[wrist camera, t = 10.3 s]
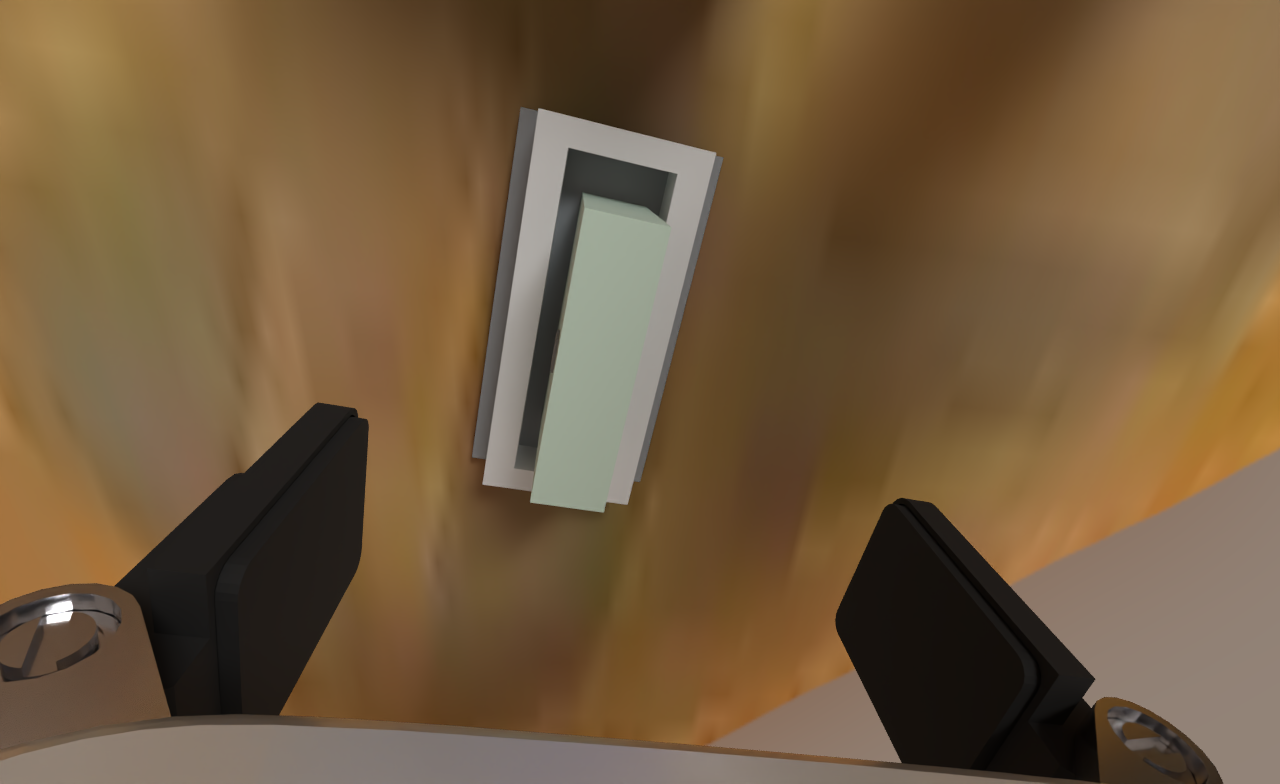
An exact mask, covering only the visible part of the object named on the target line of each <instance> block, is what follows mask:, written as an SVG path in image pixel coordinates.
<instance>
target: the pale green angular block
mask: <svg viewBox="0 0 1280 784" xmlns="http://www.w3.org/2000/svg"><path fill="white" fill-rule="evenodd" d="M671 228H672V227H671V226H669V225H668V224H667V223H666V222H664V221H663V220H662V219H661V218H659V217H658V216H657V215H656V214H654V213H653V212H652V211H651V210H649V209H648V208H647V207H645V206H640V205H636V204H632V203H627V202H623V201H619V200H615V199H610V198H606V197H602V196H597V195H593V194H589V193H584V192H582V198H581V203H580V209H579V214H578V220H577V225H576V231H575V236H574V242H573V247H572V253H571V258H570V264H569V269H568V275H567V280H566V286H565V291H564V297H563V302H562V308H561V313H560V319H559V324H558V329H557V333H556V339H555V344H554V350H553V355H552V361H551V368H550V373H549V379H548V384H547V390H546V395H545V401H544V406H543V412H542V417H541V424H540V432H539V439H538V447H537V454H536V462H535V469H534V476H533V484H532V491H531V499H530V503H538V504H545V505H552V506H560V507H567V508H574V509H581V510H589V511H596V512H603V513H604V509H605V505H606V501H607V497H608V493H609V488H610V484H611V480H612V476H613V471H614V467H615V463H616V459H617V455H618V450H619V446H620V442H621V438H622V434H623V429H624V425H625V421H626V417H627V413H628V408H629V404H630V400H631V396H632V392H633V387H634V383H635V379H636V375H637V371H638V366H639V362H640V358H641V354H642V350H643V345H644V341H645V337H646V333H647V329H648V324H649V320H650V316H651V312H652V308H653V303H654V299H655V295H656V291H657V287H658V282H659V278H660V274H661V270H662V266H663V261H664V257H665V253H666V249H667V245H668V240H669V236H670V232H671Z"/></svg>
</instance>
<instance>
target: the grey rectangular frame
mask: <svg viewBox="0 0 1280 784" xmlns="http://www.w3.org/2000/svg"><path fill="white" fill-rule="evenodd" d="M722 161H723V157H719V156H716V153H715V152H711V151H707V150H703V149H699V148H695V147H691V146H687V145H683V144H679V143H675V142H671V141H667V140H663V139H659V138H655V137H651V136H647V135H643V134H639V133H635V132H631V131H627V130H623V129H619V128H615V127H611V126H607V125H603V124H600V123H596V122H592V121H588V120H584V119H580V118H576V117H572V116H568V115H564V114H560V113H556V112H552V111H548V110H544V109H540V108H539V109H538V111H536V110H532V109H528V108H524V107H521V109H520V116H519V123H518V130H517V137H516V145H515V152H514V159H513V166H512V173H511V180H510V188H509V195H508V202H507V209H506V216H505V224H504V231H503V238H502V245H501V252H500V259H499V267H498V274H497V281H496V288H495V295H494V303H493V310H492V317H491V324H490V331H489V338H488V346H487V353H486V360H485V367H484V374H483V382H482V389H481V396H480V403H479V410H478V417H477V425H476V432H475V439H474V446H473V453H472V457H474V458H480V459H486V464H485V471H484V478H483V485H490V486H497V487H504V488H511V489H518V490H525V491H532V484H533V476H534V469H535V462H536V454H537V447H538V439H539V432H540V424H541V417H542V412H543V406H544V401H545V395H546V390H547V384H548V379H549V373H550V368H551V361H552V355H553V350H554V344H555V339H556V333H557V329H558V324H559V319H560V313H561V308H562V302H563V297H564V291H565V286H566V280H567V275H568V269H569V264H570V258H571V253H572V247H573V242H574V236H575V231H576V225H577V220H578V214H579V209H580V203H581V198H582V192H584V193H589V194H593V195H597V196H602V197H606V198H610V199H615V200H619V201H623V202H627V203H632V204H636V205H640V206H645V207H647V208H648V209H649V210H651V211H652V212H653V213H654V214H656V215H657V216H658V217H659V218H661V219H662V220H663V221H664V222H666V223H667V224H668V225H669V226H671V227H672V228H671V232H670V236H669V240H668V245H667V249H666V253H665V257H664V261H663V266H662V270H661V274H660V278H659V282H658V287H657V291H656V295H655V299H654V303H653V308H652V312H651V316H650V320H649V324H648V329H647V333H646V337H645V341H644V345H643V350H642V354H641V358H640V362H639V366H638V371H637V375H636V379H635V383H634V387H633V392H632V396H631V400H630V404H629V408H628V413H627V417H626V421H625V425H624V429H623V434H622V438H621V442H620V446H619V450H618V455H617V459H616V463H615V467H614V471H613V476H612V480H611V484H610V488H609V493H608V497H607V501H606V502H611V503H618V504H625V505H628V501H629V497H630V493H631V489H632V485H633V481H636V482H640V480H641V476H642V472H643V469H644V465H645V461H646V457H647V453H648V449H649V445H650V441H651V437H652V434H653V430H654V426H655V422H656V418H657V414H658V410H659V406H660V402H661V399H662V395H663V391H664V387H665V383H666V379H667V375H668V371H669V367H670V364H671V360H672V356H673V352H674V348H675V344H676V340H677V336H678V332H679V329H680V325H681V321H682V317H683V313H684V309H685V305H686V301H687V297H688V294H689V290H690V286H691V282H692V278H693V274H694V270H695V266H696V262H697V259H698V255H699V251H700V247H701V243H702V239H703V235H704V231H705V227H706V224H707V220H708V216H709V212H710V208H711V204H712V200H713V196H714V192H715V189H716V185H717V181H718V177H719V173H720V169H721V165H722Z"/></svg>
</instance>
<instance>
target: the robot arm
mask: <svg viewBox="0 0 1280 784" xmlns="http://www.w3.org/2000/svg"><path fill="white" fill-rule="evenodd" d="M368 430H369V424H368V421H367V419H362V418H358V413H357V410H356V409H355V408H349V407H343V406H337V405H331V404H324V403H316V404H315V405H314V406H313V407H312V408H311V409H310V410H309V411H307V412H306V413H305V414H304V415H303V416H302V417H301V418H300V419H299V420H298V421H297V422H296V423H295V424H294V425H293V426H292V427H291V428H290V429H289V430H288V431H287V432H286V433H285V434H284V435H283V436H282V437H281V438H280V439H279V440H278V441H277V442H276V443H275V444H274V445H273V446H272V447H271V448H270V449H269V450H267V451H266V452H265V453H264V454H263V455H262V456H261V457H260V458H259V459H258V460H257V461H256V462H255V463H254V464H253V465H252V466H251V467H250V468H249V469H248V470H247V471H246V472H245V473H238V474H234V475H233V476H231V477H230V478H228V479H227V480H226V481H225V482H224V483H223V484H222V485H221V486H220V487H219V488H217V489H216V490H215V491H214V492H213V493H212V494H211V495H210V496H209V497H208V498H207V499H206V500H205V501H204V502H203V503H202V504H201V505H200V506H198V507H197V508H196V509H195V510H194V511H193V512H192V513H191V514H190V515H189V516H188V517H187V518H186V519H185V520H184V521H183V522H182V523H181V524H179V525H178V526H177V527H176V528H175V529H174V530H173V531H172V532H171V533H170V534H169V535H168V536H167V537H166V538H165V539H164V540H163V541H162V542H160V543H159V544H158V545H157V546H156V547H155V548H154V549H153V550H152V551H151V552H150V553H149V554H148V555H147V556H146V557H145V558H144V559H142V560H141V561H140V562H139V563H138V564H137V565H136V566H135V567H134V568H133V569H132V570H131V571H130V572H129V573H128V574H127V575H126V576H125V577H123V578H122V579H121V580H120V581H119V582H118V583H117V584H116V585H115V586H108V585H103V584H97V583H92V584H69V585H63V586H58V587H52V588H47V589H41V590H38V591H35V592H32V593H29V594H26V595H23V596H20V597H17V598H14V599H11V600H9V601H7V602H5V603H3V604H1V605H0V784H1223V781H1222V779H1221V777H1220V775H1219V773H1218V771H1217V769H1216V767H1215V766H1214V764H1213V763H1212V762H1211V761H1210V759H1209V758H1208V757H1207V756H1206V754H1205V753H1204V752H1203V751H1202V750H1201V749H1200V748H1199V747H1198V746H1197V745H1196V744H1195V743H1194V742H1193V741H1191V739H1189V738H1188V737H1187V736H1186V735H1185V734H1184V733H1182V732H1181V731H1180V730H1178V729H1177V728H1176V727H1174V726H1173V725H1172V724H1170V723H1169V722H1168V721H1166V720H1164V719H1163V718H1161V717H1159V716H1158V715H1156V714H1154V713H1153V712H1151V711H1150V710H1147V709H1146V708H1143V707H1141V706H1139V705H1137V704H1135V703H1133V702H1130V701H1126V700H1123V699H1119V698H1115V697H1114V698H1113V697H1104V698H1102V699H1100V700H1098V701H1096V703H1095V704H1094V705H1093V707H1092V708H1090V706H1089V705H1088V704H1087V703H1086V702H1085V701H1084V699H1083V698H1082V697H1083V696H1084V695H1085V693H1086V692H1087V690H1088V689H1089V687H1090V686H1091V685H1092V683H1093V682H1094V680H1095V678H1094V677H1093V676H1092V675H1091V674H1090V673H1089V672H1088V671H1087V670H1086V668H1085V667H1084V666H1083V665H1082V664H1081V663H1080V662H1079V661H1078V660H1077V659H1076V658H1075V656H1073V654H1072V653H1071V652H1070V651H1069V650H1068V649H1067V648H1066V647H1065V646H1064V645H1063V643H1062V642H1060V640H1059V639H1058V638H1057V637H1056V636H1055V635H1054V634H1053V633H1052V632H1051V631H1050V629H1049V628H1048V627H1047V626H1046V625H1045V624H1044V623H1043V622H1042V621H1041V620H1040V619H1039V618H1038V616H1037V615H1036V614H1035V613H1034V612H1033V611H1032V610H1031V609H1030V608H1029V607H1028V606H1027V605H1026V604H1025V602H1024V601H1023V600H1022V599H1021V598H1020V597H1019V596H1018V595H1017V594H1016V593H1015V592H1014V591H1013V589H1012V588H1011V587H1010V586H1009V585H1008V584H1007V583H1006V582H1005V581H1004V580H1003V579H1002V578H1001V576H1000V575H999V574H998V573H997V572H996V571H995V570H994V569H993V568H992V567H991V566H990V565H989V564H988V562H987V561H986V560H985V559H984V558H983V557H982V556H981V555H980V554H979V553H978V552H977V551H976V549H975V548H974V547H973V546H972V545H971V544H970V543H969V542H968V541H967V540H966V539H965V538H964V537H963V535H962V534H961V533H960V532H959V531H958V530H957V529H956V528H955V527H954V526H953V525H952V524H951V522H950V521H949V520H948V519H947V518H946V517H945V516H944V515H943V514H942V513H941V512H940V511H939V509H938V508H937V507H936V506H935V505H933V504H932V503H929V502H924V501H917V500H911V499H905V498H899V499H897V500H896V501H895V502H893V504H889V505H887V506H886V507H885V508H884V510H883V512H882V514H881V516H880V518H879V521H878V523H877V525H876V527H875V529H874V532H873V534H872V536H871V538H870V540H869V542H868V545H867V547H866V549H865V551H864V553H863V556H862V558H861V560H860V562H859V564H858V567H857V569H856V571H855V573H854V575H853V577H852V580H851V582H850V584H849V586H848V588H847V591H846V593H845V595H844V597H843V599H842V601H841V604H840V606H839V608H838V610H837V613H836V619H835V621H836V629H837V632H838V635H839V637H840V639H841V641H842V643H843V645H844V647H845V649H846V651H847V653H848V655H849V657H850V659H851V661H852V663H853V665H854V667H855V669H856V671H857V673H858V675H859V677H860V679H861V681H862V683H863V685H864V687H865V689H866V691H867V693H868V695H869V697H870V699H871V701H872V703H873V705H874V707H875V709H876V711H877V713H878V716H879V718H880V720H881V722H882V723H883V726H884V727H885V730H886V732H887V734H888V736H889V737H890V740H891V742H892V744H893V746H894V748H895V750H896V752H897V754H898V756H899V758H900V760H901V762H902V763H893V762H883V761H872V760H861V759H850V758H837V757H827V756H814V755H804V754H792V753H781V752H769V751H758V750H757V751H756V750H746V749H734V748H723V747H711V746H699V745H687V744H675V743H663V742H652V741H640V740H627V739H615V738H602V737H590V736H577V735H564V734H552V733H539V732H527V731H514V730H501V729H489V728H476V727H464V726H451V725H437V724H422V723H408V722H393V721H378V720H363V719H346V718H328V717H309V716H279V714H280V712H281V710H282V709H283V707H284V705H285V703H286V701H287V699H288V697H289V696H290V694H291V692H292V690H293V688H294V686H295V684H296V683H297V681H298V679H299V677H300V675H301V673H302V671H303V670H304V668H305V666H306V664H307V662H308V660H309V658H310V657H311V655H312V653H313V651H314V649H315V647H316V645H317V644H318V642H319V640H320V638H321V636H322V634H323V632H324V631H325V629H326V627H327V625H328V623H329V621H330V619H331V617H332V616H333V614H334V612H335V610H336V608H337V606H338V604H339V603H340V601H341V599H342V597H343V595H344V593H345V591H346V590H347V588H348V586H349V584H350V582H351V580H352V578H353V577H354V575H355V573H356V570H357V568H358V565H359V561H360V557H361V550H362V534H363V516H364V499H365V482H366V465H367V447H368Z"/></svg>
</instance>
